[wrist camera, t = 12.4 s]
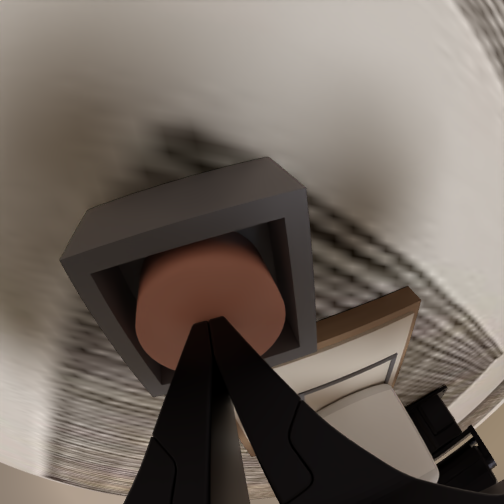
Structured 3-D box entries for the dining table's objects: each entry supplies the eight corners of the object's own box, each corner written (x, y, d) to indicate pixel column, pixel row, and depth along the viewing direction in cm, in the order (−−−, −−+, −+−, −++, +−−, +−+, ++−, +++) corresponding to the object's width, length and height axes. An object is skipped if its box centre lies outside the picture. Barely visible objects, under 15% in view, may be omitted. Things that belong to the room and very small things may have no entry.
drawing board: (378, 395, 21) (386, 409, 20) (247, 443, 20) (252, 460, 18) (408, 286, 14) (424, 303, 13) (199, 357, 13) (203, 383, 12)
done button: (273, 310, 11) (291, 351, 9) (166, 340, 10) (168, 385, 9) (253, 209, 8) (275, 244, 7) (119, 248, 8) (108, 292, 6)
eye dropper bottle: (328, 390, 15) (412, 574, 5) (398, 378, 17) (478, 521, 7) (299, 427, 17) (359, 582, 7) (365, 414, 19) (427, 543, 9)
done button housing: (289, 298, 12) (317, 351, 10) (151, 337, 12) (152, 397, 9) (268, 156, 9) (306, 187, 7) (87, 210, 9) (59, 260, 6)
